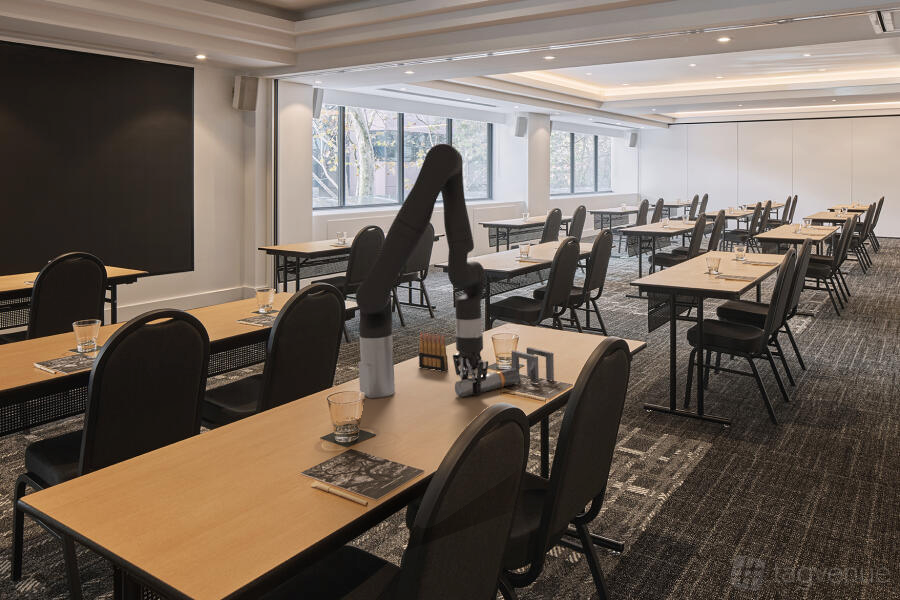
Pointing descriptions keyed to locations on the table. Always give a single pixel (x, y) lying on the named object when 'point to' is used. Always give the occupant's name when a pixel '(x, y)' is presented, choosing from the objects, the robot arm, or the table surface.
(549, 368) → the dark grey rectangular frame
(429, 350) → the ammunition clip
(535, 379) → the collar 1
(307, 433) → the table surface
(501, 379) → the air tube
